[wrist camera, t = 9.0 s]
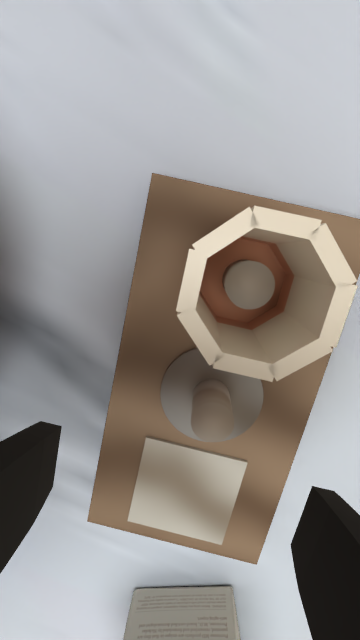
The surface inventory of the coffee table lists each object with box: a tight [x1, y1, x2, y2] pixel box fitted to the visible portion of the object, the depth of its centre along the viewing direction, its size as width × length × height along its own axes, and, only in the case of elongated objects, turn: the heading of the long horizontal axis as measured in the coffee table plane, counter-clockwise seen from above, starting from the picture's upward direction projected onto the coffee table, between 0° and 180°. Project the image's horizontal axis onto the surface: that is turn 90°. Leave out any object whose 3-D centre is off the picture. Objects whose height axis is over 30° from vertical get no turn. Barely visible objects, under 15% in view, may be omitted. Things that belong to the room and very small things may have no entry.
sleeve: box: [176, 206, 357, 382], centre depth 13 cm, size 5×5×6 cm
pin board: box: [87, 173, 360, 565], centre depth 16 cm, size 21×11×4 cm, turn 167°
